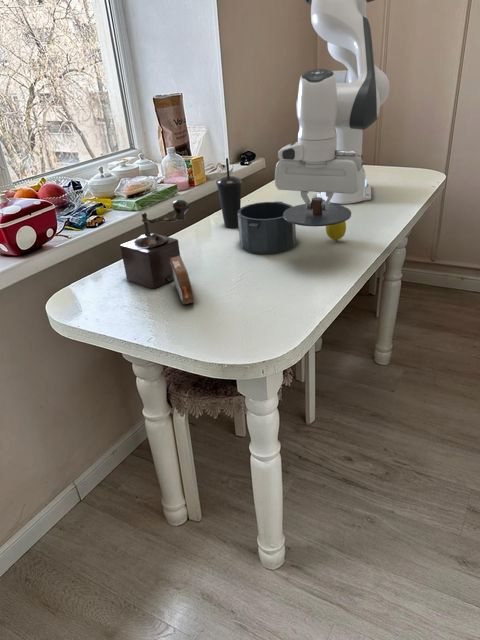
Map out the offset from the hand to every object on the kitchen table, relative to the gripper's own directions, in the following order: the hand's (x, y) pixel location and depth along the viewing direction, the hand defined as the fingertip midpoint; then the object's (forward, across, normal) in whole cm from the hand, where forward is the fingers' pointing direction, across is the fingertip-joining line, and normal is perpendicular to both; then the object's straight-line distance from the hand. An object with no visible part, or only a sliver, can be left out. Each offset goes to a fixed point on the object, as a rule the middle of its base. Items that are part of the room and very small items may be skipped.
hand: (316, 209), depth 130 cm
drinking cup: (+14, +33, -22) cm, 42 cm away
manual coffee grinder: (+14, +36, +16) cm, 42 cm away
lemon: (+14, -1, -16) cm, 21 cm away
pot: (+14, +17, -10) cm, 24 cm away
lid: (+1, 0, 0) cm, 1 cm away
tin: (+14, +25, +26) cm, 39 cm away
